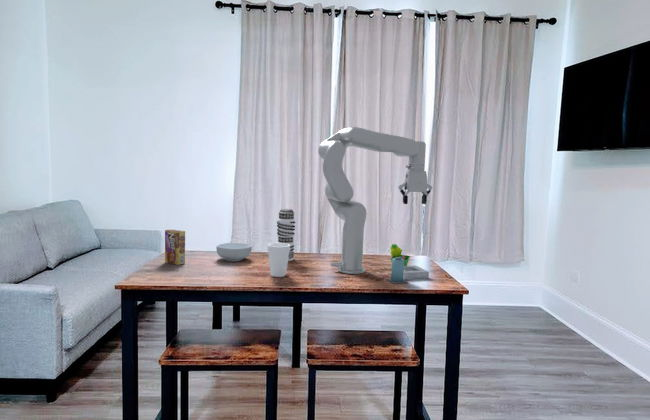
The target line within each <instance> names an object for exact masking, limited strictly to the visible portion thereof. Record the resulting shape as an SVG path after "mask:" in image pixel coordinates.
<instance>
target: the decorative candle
mask: <svg viewBox="0 0 650 420" xmlns="http://www.w3.org/2000/svg"><path fill="white" fill-rule="evenodd" d="M276 224H277V225H276V227H277V229H276V230H277V232H276V233H277V239H278V240H277V243H286V244H289V245H290V251H289V257H288V262H290V261H293V260H294V256H295V251H294V250H295V248H294V247H295V245H294V238H295V235H296V234H295V232H294V231H295V230H296V226H295V225H294V224H296V221H295V211H294V210H293V209H292V208H281V209H280V210H279V211H278V219H277V221H276Z"/></svg>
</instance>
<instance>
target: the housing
mask: <svg viewBox="0 0 650 420" xmlns="http://www.w3.org/2000/svg"><path fill="white" fill-rule="evenodd" d="M429 275H430V271H428V270H426V269H424V268H422V267H420V266H417V265H407V266H404V274H403V280H405V281H407V280H409V281H410V280H424V279H425V280H426V279H427V280H428V279H429V277H430V276H429Z"/></svg>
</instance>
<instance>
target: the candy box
mask: <svg viewBox="0 0 650 420" xmlns="http://www.w3.org/2000/svg"><path fill="white" fill-rule="evenodd" d="M164 263H166V264H170V265H171V264H172V265H178V266H180V265H184V264H186V231H185V230H180V229H179V230H178V229H170V228H169V229H166V230H164Z"/></svg>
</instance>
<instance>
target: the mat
mask: <svg viewBox="0 0 650 420" xmlns="http://www.w3.org/2000/svg"><path fill="white" fill-rule="evenodd" d="M385 280H386V281H388V282H389V283H390V284H392V285H401V284H409V282H408V281H407V280H403V282H394V281H391V277H390V278H389V277H388V278H385Z"/></svg>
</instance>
